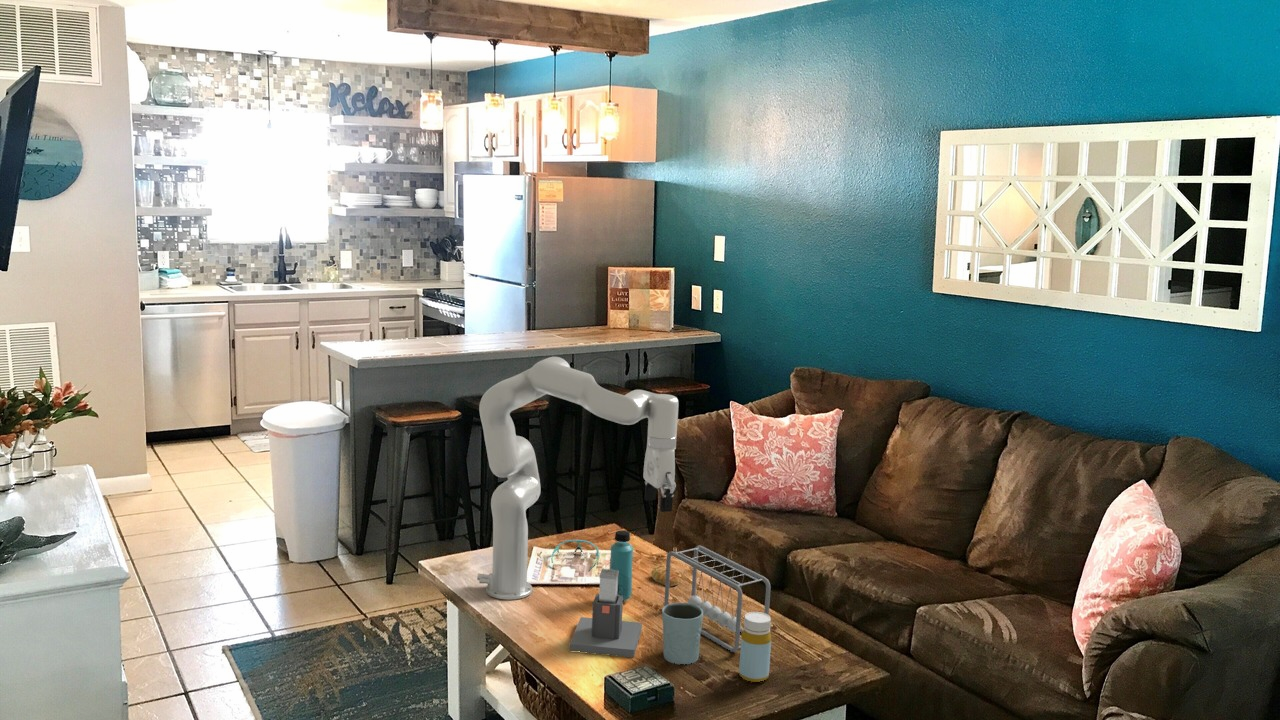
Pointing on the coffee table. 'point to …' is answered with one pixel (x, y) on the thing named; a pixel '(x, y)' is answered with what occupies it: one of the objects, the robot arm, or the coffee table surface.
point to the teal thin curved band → (576, 548)
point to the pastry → (664, 575)
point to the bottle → (755, 647)
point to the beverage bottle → (622, 563)
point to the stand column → (608, 586)
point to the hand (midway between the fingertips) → (658, 505)
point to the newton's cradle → (713, 611)
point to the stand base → (606, 631)
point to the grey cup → (681, 632)
